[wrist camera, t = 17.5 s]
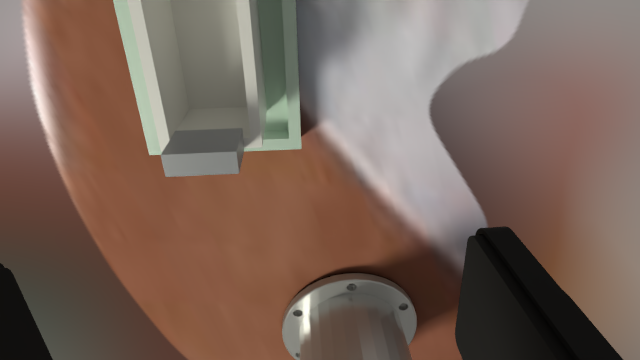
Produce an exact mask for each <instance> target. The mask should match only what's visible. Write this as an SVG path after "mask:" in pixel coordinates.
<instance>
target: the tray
mask: <svg viewBox="0 0 640 360" xmlns="http://www.w3.org/2000/svg"><path fill="white" fill-rule="evenodd" d="M113 2H114V6H115V11H116V15H117V19H118V23H119V28H120V32H121V36H122V40H123V45H124V49H125V53H126V57H127V62H128V66H129V70H130V75H131V79H132V83H133V87H134V92H135V96H136V100H137V104H138V109H139V113H140V117H141V121H142V126H143V130H144V134H145V139H146V143H147V147H148V151H149V155H161V154H162V152H161V149H160V145H159V140H158V136H157V131H156V127H155V122H154V118H153V114H152V109H151V105H150V100H149V96H148V91H147V87H146V82H145V78H144V73H143V69H142V64H141V60H140V55H139V51H138V46H137V42H136V37H135V33H134V29H133V24H132V20H131V15H130V11H129V6H128V2H127V0H113ZM258 7H259V19H260V31H261V43H262V56H263V68H264V80H265V92H266V104H267V115H266V123H265V131H264V139H263V147H257V148H244V151H263V150H288V149H301V127H300V100H299V74H298V48H297V21H296V0H258Z"/></svg>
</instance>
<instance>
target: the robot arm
mask: <svg viewBox="0 0 640 360" xmlns="http://www.w3.org/2000/svg"><path fill="white" fill-rule="evenodd" d="M416 328H417V316H416V312H415V309H414V306H413V304H412V301H411V299H410V297H409V296H408V295H407V293H406V292H405V291H404V290H403V289H402V288H401V287H399V286H398V285H397V284H396V283H394V282H392V281H390V280H388V279H386V278H383V277H379V276H376V275H371V274H364V273H346V274H340V275H334V276H331V277H328V278H325V279H321V280H319V281H317V282H315V283H313V284H311V285H309V286H308V287H306V288H305V289H304V290H302V291H301V292H299V293H298V294H297V295H296V297H295V298H294V299H293V300H292V301H291V302H290V304H289V306H288V307H287V309H286V311H285V314H284V317H283V325H282V334H283V341H284V344H285V346H286V348H287V350H288V351H289V353H290V354H291V356H293V357H294V358H295V359H296V360H412V357H411V354H410V351H409V347H408V345H409V344H410V343H411V341H412V339H413V337H414V335H415V331H416ZM455 337H456V343H457V346H458V349H459V351H460V354H461V356H462V358H463V360H623V359H622V358H621V357H620V355H619V354H618V353H617V352H616V351H615V350H614V348H613V347H612V346H611V345H610V344H609V343H608V341H607V340H606V339H605V338H604V337H603V336H602V334H601V333H600V332H599V331H598V330H597V328H596V327H595V326H594V325H593V324H592V322H591V321H590V320H589V319H588V318H587V317H586V315H585V314H584V313H583V312H582V311H581V309H580V308H579V307H578V306H577V305H576V304H575V302H574V301H573V300H572V299H571V298H570V297H569V296H568V295H567V294H566V293H565V292H564V291H563V290H562V289H561V288H560V287H559V286H558V285H557V284H556V282H555V281H554V280H553V278H552V277H551V276H550V275H549V274H548V273H547V271H546V270H545V269H544V268H543V267H542V265H541V264H540V263H539V262H538V261H537V259H536V258H535V257H534V256H533V255H532V254H531V252H530V251H529V250H528V249H527V248H526V246H525V245H524V244H523V243H522V242H521V240H520V239H519V238H518V237H517V236H516V235H515V233H514V232H513V231H512V230H511V229H510V228H508V227H493V228H480V229H478V230H477V232H476V235H475V236H470V237H469V239H468V242H467V249H466V256H465V263H464V270H463V278H462V285H461V292H460V299H459V307H458V314H457V321H456V328H455ZM0 360H53V359H52V357H51V356H50V353H49V351H48V349H47V346H46V345H45V342H44V340H43V338H42V336H41V333H40V331H39V329H38V327H37V325H36V323H35V321H34V319H33V316H32V314H31V312H30V310H29V308H28V306H27V303H26V301H25V300H24V297H23V295H22V293H21V290H20V288H19V286H18V284H17V282H16V280H15V278H14V275H13V274H12V272H11V270H9V269H8V268H4V266H3V265H2V264H1V263H0Z"/></svg>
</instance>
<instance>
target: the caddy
mask: <svg viewBox="0 0 640 360" xmlns="http://www.w3.org/2000/svg"><path fill="white" fill-rule="evenodd" d="M127 2H128V6H129V11H130V15H131V20H132V24H133V29H134V33H135V37H136V42H137V46H138V51H139V55H140V60H141V64H142V69H143V73H144V78H145V82H146V87H147V91H148V96H149V100H150V105H151V109H152V114H153V118H154V122H155V127H156V131H157V136H158V140H159V145H160V149H161V152H162V154H161V158H162V163H163V167H164V172H165V176H166V177H173V176H194V175H216V174H237V173H239V172H240V167H241V162H242V158H243V153H244V148H257V147H263V139H264V131H265V123H266V115H267V104H266V92H265V80H264V68H263V56H262V43H261V31H260V19H259V7H258V0H127Z"/></svg>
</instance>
